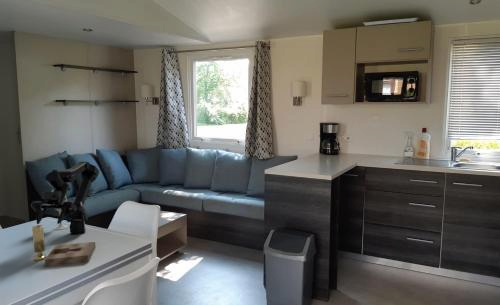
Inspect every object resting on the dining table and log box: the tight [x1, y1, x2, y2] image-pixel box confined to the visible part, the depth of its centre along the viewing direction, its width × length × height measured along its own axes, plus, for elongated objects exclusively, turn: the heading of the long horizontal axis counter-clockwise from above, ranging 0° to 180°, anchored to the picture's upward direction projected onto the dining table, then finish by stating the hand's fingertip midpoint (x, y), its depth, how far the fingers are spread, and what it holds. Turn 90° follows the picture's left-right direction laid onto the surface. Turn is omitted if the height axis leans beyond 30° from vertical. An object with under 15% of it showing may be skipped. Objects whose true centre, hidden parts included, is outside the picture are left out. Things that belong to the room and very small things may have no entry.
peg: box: [32, 224, 47, 262], centre depth 156 cm, size 4×4×14 cm
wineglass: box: [51, 188, 69, 231], centre depth 196 cm, size 8×8×21 cm
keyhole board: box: [44, 241, 96, 267], centre depth 158 cm, size 16×16×3 cm
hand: (47, 223), depth 162 cm, fingers open, 9 cm apart
